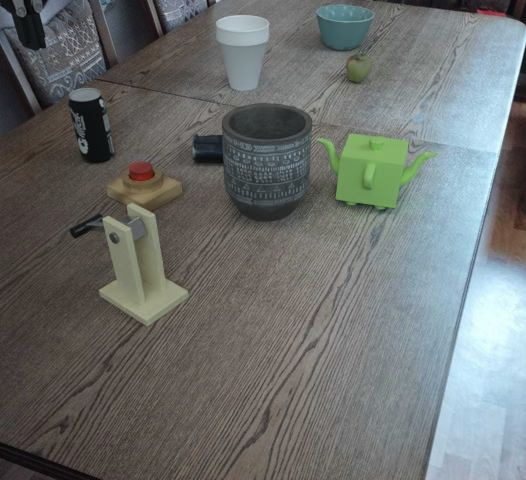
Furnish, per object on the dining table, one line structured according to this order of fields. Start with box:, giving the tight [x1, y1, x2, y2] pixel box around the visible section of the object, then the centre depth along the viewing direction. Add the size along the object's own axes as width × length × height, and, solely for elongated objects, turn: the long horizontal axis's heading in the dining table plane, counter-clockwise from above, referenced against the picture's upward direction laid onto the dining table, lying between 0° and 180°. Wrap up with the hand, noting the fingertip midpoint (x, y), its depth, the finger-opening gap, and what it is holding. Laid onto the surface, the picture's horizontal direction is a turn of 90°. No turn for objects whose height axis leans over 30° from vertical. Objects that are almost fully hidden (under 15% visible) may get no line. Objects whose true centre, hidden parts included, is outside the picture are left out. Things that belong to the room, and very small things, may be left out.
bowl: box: [315, 4, 375, 51], centre depth 152 cm, size 16×16×8 cm
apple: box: [345, 53, 371, 84], centre depth 135 cm, size 6×8×6 cm
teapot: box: [316, 133, 438, 210], centre depth 94 cm, size 15×13×11 cm
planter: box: [221, 102, 313, 222], centre depth 90 cm, size 14×14×15 cm
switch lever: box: [69, 213, 147, 241], centre depth 74 cm, size 13×5×2 cm, turn 50°
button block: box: [104, 164, 184, 213], centre depth 97 cm, size 10×9×4 cm
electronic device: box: [191, 132, 224, 163], centre depth 107 cm, size 9×6×15 cm
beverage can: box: [67, 87, 116, 164], centre depth 104 cm, size 7×7×12 cm
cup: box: [215, 14, 270, 92], centre depth 129 cm, size 12×12×14 cm
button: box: [128, 161, 154, 181], centre depth 95 cm, size 4×4×2 cm
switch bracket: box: [98, 203, 190, 328], centre depth 74 cm, size 10×8×13 cm
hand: (34, 47), depth 72 cm, fingers closed
